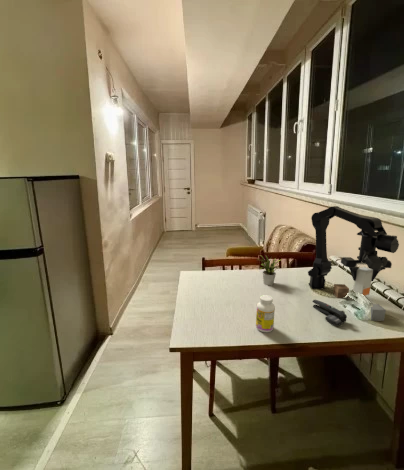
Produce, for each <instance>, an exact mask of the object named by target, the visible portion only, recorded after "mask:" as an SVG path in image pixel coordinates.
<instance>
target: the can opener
mask: <svg viewBox="0 0 404 470" xmlns="http://www.w3.org/2000/svg"><path fill="white" fill-rule="evenodd" d="M312 303H313V305H312V307H313V308H314V309H315V310H317V311H319V312H321V313H323V314H325V315H326V316H325V317H324V319H325V320H326V322H328V323H329V324H331V325H332V326H342V325H343V323H345V322H346V321H347V318H348V317H347V314H345V311H344V310H340V309H338V308H336V307H334V305H333V306H332V305H330V304H328V303H325V302H323V301H320V300H317V299H313V300H312Z"/></svg>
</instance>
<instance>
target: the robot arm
mask: <svg viewBox="0 0 404 470" xmlns="http://www.w3.org/2000/svg"><path fill="white" fill-rule="evenodd" d="M335 217H337V218H340V219H341V220H344V221H347V222H349V223H351V224H354V225H355V226H356V227H357V229H359V230H360V231H359V232H357V233H356V235H357V236H361V240H360V246H359V247H357V248H358V250H359V254H358V255H357V257H356V259H354V258H352V257H350V256H345V257H344V256H343V257H341V260H340V263H341V265H343V266H345V267H346V268H348V269H349V271H350V274H351V277H352V280H353V282H354V281H355V280H356V274H357V270H358V269H359V268H360V267H358V265H366V266H367V268H369V269H372V270H373V275H372V281H371V282H374V280H375V278H376V277H377V276H378V274H379V273H380V272H381V271H384V270H386V269H391V268H392V265H393V264H392V261H390V260H388V257H386V256H378V251H382V252H387V253H392V254H394V253H396V252H397V251H398V249H399V247H400V243H399V239H398V235H390V234H388V232H386V230H385V228H384V226H383V223H382V220H381V218H379V217H376V216H366V215H361V214H358V213H356V212H353V211H349V210H347V209H345V208H341V207H340V206H337V205H335V206H329V207H327V208H326V209H323V210H321V211H317V212H314V213H313V214H312V215H311V218H310V219H311V223H312V227H313V228H314V230H315V259H314V261H313V264H312V268H311V269H309V270H307V274H308V277H310V278H309V283H308V286H309V287H310V288H311V289H313V290H315V289H316V290H325V289H326V288H325V286H326V278H325V277H326V276H328V274H329V273H330V272H331V270H332V269H333V267H332V261H331V260H329V259H328V257H327V256H328V255H327V252H328V251H327V229H328V227H329V225H330V220H332V219H333V218H335ZM376 249H377V250H376Z"/></svg>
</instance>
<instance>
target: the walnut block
mask: <svg viewBox="0 0 404 470" xmlns="http://www.w3.org/2000/svg"><path fill="white" fill-rule="evenodd" d="M332 291H333V292H332V293H333V295H334V296H335V297H336V298H338V299H344V298H343V297H345V296H346V295H347V293H348V292H349V291H350V288H349V287H348V286H347V285H346V284H345V283H342V284H341V283H339V284H338V283H337V284H336V283H334V284H333V288H332ZM349 293H350V292H349Z"/></svg>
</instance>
